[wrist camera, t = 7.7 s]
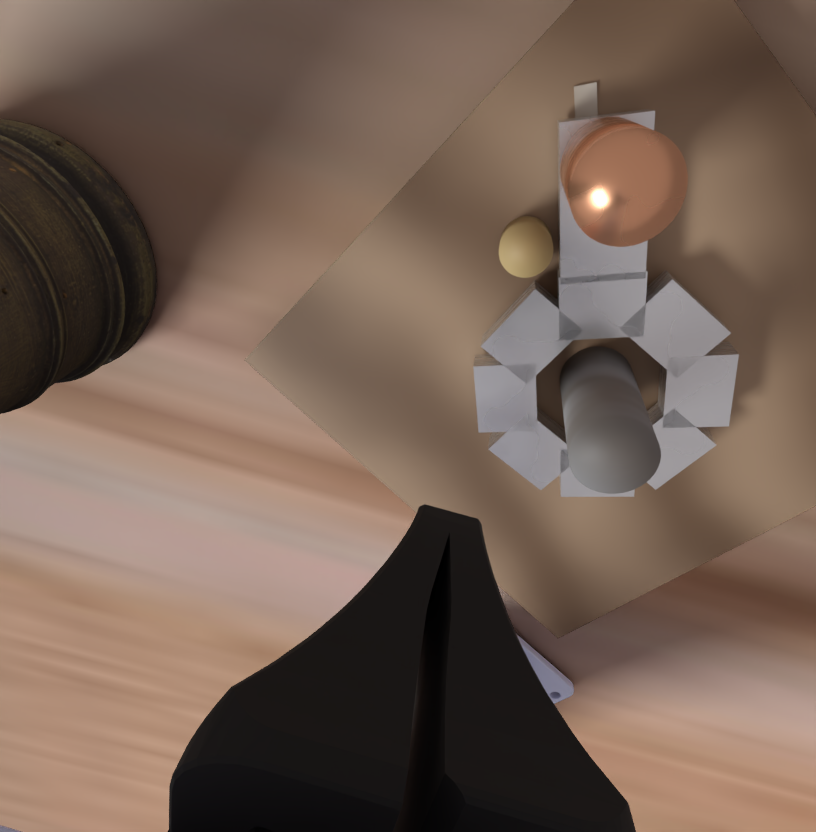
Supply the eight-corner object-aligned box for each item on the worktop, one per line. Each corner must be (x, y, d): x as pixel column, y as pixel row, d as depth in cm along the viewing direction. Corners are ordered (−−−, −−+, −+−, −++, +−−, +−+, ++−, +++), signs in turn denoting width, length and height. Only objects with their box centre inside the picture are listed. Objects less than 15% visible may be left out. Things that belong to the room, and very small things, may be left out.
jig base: (556, 617, 28) (564, 744, 23) (256, 348, 24) (179, 426, 19) (992, 384, 20) (1164, 497, 15) (655, -87, 16) (722, -170, 10)
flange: (711, 479, 22) (758, 582, 17) (485, 481, 23) (476, 575, 19) (761, 94, 16) (851, 101, 12) (458, 132, 18) (435, 151, 13)
